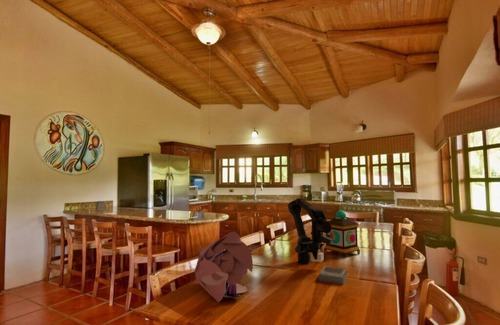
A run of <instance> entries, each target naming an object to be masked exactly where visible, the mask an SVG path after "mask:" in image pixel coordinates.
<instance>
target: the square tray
mask: <svg viewBox="0 0 500 325" xmlns="http://www.w3.org/2000/svg"><path fill="white" fill-rule="evenodd" d="M347 273H348V271H346V268H343V267H337V266H336V267H335V266H327V265H324V266H323V267H322V268H321V270H320V272H319V274H318V281H319V282H322V283H323V282H324V283H330V284H335V285H336V284H337V285H343V286H344V284H345V283H346V280H347V278H348V274H347Z"/></svg>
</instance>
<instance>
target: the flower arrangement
mask: <svg viewBox="0 0 500 325" xmlns="http://www.w3.org/2000/svg"><path fill="white" fill-rule="evenodd" d="M253 264H254V262H253V256H252V252H251V250H250V248H249V246H248V245H247V244H246V243H245V242H244V241H243V240H241V237H240V235H239V233H238V232H236V231H230V232H229V233H228V234H226V235H224V236H223V237H221V238H220V239H218V240H214V241H213V242H212V243H210V244H209V245H208V246H206V247H205V248H204V249H202V250H201V251H199V255H198V258H197V262H196V264H195V269H194V272H193V274H195V280H196V282H197V283H198V284H199V285H200V286H201V287H202V288H203V289H204V290H205V291H206V292H207V293H208V294H209V295H210V296H211V297H212V298H213V299H214V300H215V301H216V302H217V303H220V302H221V301H222V299H224V298H233V299H235V298H240V297H241V295H240V294H243V293H246V292H247V291H248V288H247V287H246V286H243V285H242V284H239V283H241V281H242V280H243V278H244V276H247V273H248V271H250V272H251V273H253V267H254V266H253ZM223 297H224V298H223Z"/></svg>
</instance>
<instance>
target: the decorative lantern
mask: <svg viewBox="0 0 500 325" xmlns="http://www.w3.org/2000/svg"><path fill="white" fill-rule="evenodd" d="M327 221H328V223H329V224H330V225H331V227H332V229H331V232H330V233H325V235H326V236H327V235H331V238H332V242H331V244H330V245H327V244H326V243H325V244H324V248H323V250H324V251H323V253H324V254H326V253H327V252H328V251H332V252H335V253H339V254H342V257H343V258H344V259H345V258H346V254H350V253H354V252H356V254H357V255H361V254H360V253H361V249H360V247H359V245H358V227H359V223H358V222H356V221H355V220H352V219H351V218H349V217H347V213H346V212H344V211H343V210H338V211H337V212H336V213H335V216H334V217H333V218H331V219H330V220H327Z"/></svg>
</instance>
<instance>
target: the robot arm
mask: <svg viewBox="0 0 500 325" xmlns="http://www.w3.org/2000/svg"><path fill="white" fill-rule="evenodd" d="M287 209H288V211H289V214H291V215H292V217H293V220H294V225H295V228H296V233H297V237H298V238H297V242H296V243H297V245H296V246H295V248H294V250H295V253H297V262H296V263H297V264H303V265H308V264H309V263H310V262H311V253H312V254H313V256H314V258H315V259H316V260H317V255H318V250H319V249H320V252H321V251H322V247H323V246H325V245H326V244H327V245H330V244H331V242H332V238H331V235H327V236H326V233H330V232H331V229H332V227H331V225H330V224H329V223H328V221H329V220H328V219H327V217H326V215H325V213H324V211H323V209H322V208H321V207H318V206H314V205H312V204H311V203H309V202H308V201H307V200H306V199H305V198H303V197H300V198H296V199H294V200H292V201H290V202H289V203H288V204H287ZM302 209H303V210H305V211H306V212H307V215H308V216H309V217H310V219H309V223H311V225H310V226H311V231H310V235H311V237H310V236H307V234H306V230H305V226H304V223H303V222H304V221H303V218H302V215H301V213H302ZM324 234H325V235H324Z"/></svg>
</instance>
